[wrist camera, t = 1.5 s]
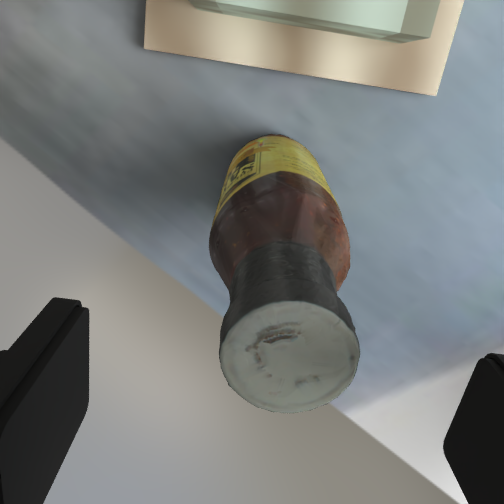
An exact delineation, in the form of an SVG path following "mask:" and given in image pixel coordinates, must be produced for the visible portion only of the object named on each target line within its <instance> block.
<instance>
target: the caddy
mask: <svg viewBox="0 0 504 504" xmlns="http://www.w3.org/2000/svg"><path fill="white" fill-rule="evenodd" d="M463 3H464V0H146V16H145V36H144V49H148V50H155V51H161V52H167V53H173V54H179V55H185V56H192V57H198V58H204V59H210V60H216V61H222V62H229V63H235V64H241V65H247V66H253V67H259V68H265V69H272V70H278V71H284V72H290V73H296V74H302V75H309V76H315V77H321V78H327V79H333V80H339V81H346V82H352V83H358V84H364V85H370V86H376V87H383V88H389V89H395V90H401V91H407V92H413V93H420V94H426V95H432V96H436V95H437V91H438V88H439V84H440V81H441V78H442V74H443V71H444V67H445V64H446V61H447V57H448V54H449V50H450V47H451V44H452V40H453V37H454V33H455V30H456V27H457V23H458V20H459V16H460V13H461V10H462V6H463Z"/></svg>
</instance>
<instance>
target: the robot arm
mask: <svg viewBox="0 0 504 504" xmlns="http://www.w3.org/2000/svg"><path fill="white" fill-rule="evenodd" d="M88 402H89V309H88V308H84V307H82V305H81V302H80V301H79V300H72V299H65V298H56V297H55V298H52V299H51V300H50V302H49V303H48V304H47V305H46V306H45V307H44V309H43V310H42V311H41V312H40V313H39V315H38V316H37V317H36V318H35V319H34V320H33V321H32V323H31V324H30V325H29V326H28V327H27V328H26V330H25V331H24V332H23V333H22V334H21V336H20V337H19V338H18V339H17V340H16V341H15V343H14V344H13V345H12V346H11V347H10V348H9V350H2V351H0V504H43V503H44V500H45V498H46V496H47V494H48V492H49V490H50V488H51V486H52V484H53V482H54V479H55V477H56V475H57V473H58V471H59V469H60V467H61V465H62V463H63V461H64V459H65V456H66V454H67V452H68V450H69V448H70V446H71V444H72V442H73V440H74V438H75V435H76V433H77V431H78V429H79V427H80V425H81V423H82V421H83V419H84V416H85V414H86V411H87V408H88ZM443 450H444V454H445V457H446V459H447V461H448V463H449V465H450V467H451V469H452V471H453V473H454V475H455V477H456V479H457V481H458V483H459V485H460V487H461V489H462V491H463V493H464V495H465V497H466V500H467V502H468V504H504V355H502V354H494V353H490V354H487V355H486V356H485V358H481V359H480V360H479V361H478V362H477V364H476V367H475V369H474V371H473V374H472V376H471V378H470V381H469V383H468V385H467V388H466V390H465V392H464V395H463V397H462V399H461V402H460V404H459V406H458V409H457V411H456V413H455V416H454V418H453V420H452V423H451V425H450V427H449V430H448V432H447V434H446V437H445V439H444V443H443Z"/></svg>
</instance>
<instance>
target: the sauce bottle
mask: <svg viewBox="0 0 504 504" xmlns="http://www.w3.org/2000/svg"><path fill="white" fill-rule="evenodd" d="M209 251H210V256H211V260H212V263H213V265H214V267H215V269H216V270H217V272H218V273H219V275H220V277H221V278H222V280H223V282H224V283H225V285H226V287H227V289H228V290H229V294H230V301H231V302H230V306H229V309H228V310H227V312H226V314H225V316H224V319H223V323H222V326H221V331H220V349H219V359H220V363H221V369H222V371H223V374H224V376H225V378H226V380H227V382H228V385H229V386H230V387H231V388H232V389H233V390H234V391H236V393H238V394H239V395H240V396H241V397H242V398H243V399H245V400H246V401H248V402H249V403H251V404H253V405H254V406H256V407H258V408H262V409H265V410H268V411H271V412H280V413H298V412H303V411H309V410H313V409H315V408H317V407H319V406H322V405H326V404H328V403H329V402H330V401H332V400H333V399H335V398H337V397H338V396H339V395H340V394H341V393H342V392H343V391H344V390H345V389H346V388H347V387H348V386H349V385H350V383H351V382H352V380H353V378H354V376H355V373H356V370H357V366H358V361H359V357H360V348H359V342H358V338H357V336H356V333H355V327H354V325H353V323H352V319H351V316H350V314H349V312H348V310H347V308H346V306H345V305H344V303H343V302H342V301H341V299H340V298H339V297H338V296H337V291H339V288H340V287H341V285H342V283H343V281H344V280H345V278H346V276H347V273H348V270H349V268H350V243H349V237H348V232H347V230H346V227H345V224H344V222H343V219H342V215H341V211H340V209H339V207H338V204H337V202H336V200H335V198H334V196H333V194H332V192H331V190H330V188H329V186H328V184H327V182H326V180H325V178H324V176H323V174H322V172H321V169H320V167H319V165H318V163H317V161H316V159H315V158H314V157H313V155H312V154H311V153H310V152H309V151H308V150H307V149H306V148H305V147H304V146H303V145H301V144H300V143H298V142H296V141H295V140H293V139H291V138H289V137H286V136H283V135H273V134H270V135H267V136H263V137H260V138H257V139H256V140H252V141H250V142H248V143H247V144H246V145H245V146H244V147H243V148H242V149H241V150H239V152H238V153H237V154H236V155H235V157H234V158H233V160H232V162H231V164H230V166H229V169H228V172H227V175H226V179H225V182H224V185H223V188H222V191H221V195H220V199H219V202H218V206H217V210H216V214H215V216H214V220H213V224H212V228H211V232H210V238H209Z"/></svg>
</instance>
